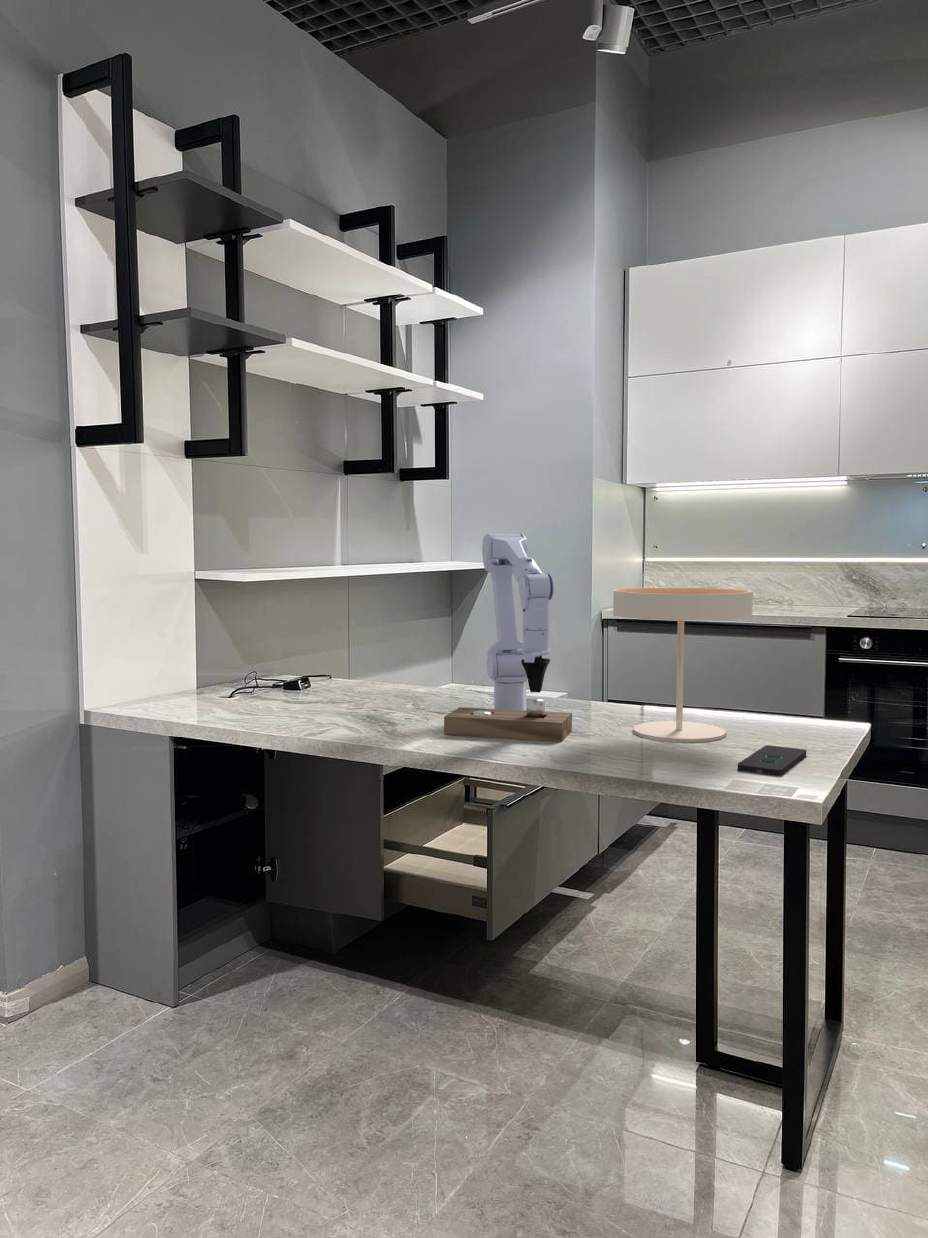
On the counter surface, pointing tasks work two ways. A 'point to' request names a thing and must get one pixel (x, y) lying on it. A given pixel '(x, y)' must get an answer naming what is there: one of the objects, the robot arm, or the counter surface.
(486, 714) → the peg
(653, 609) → the desk lamp
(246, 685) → the counter surface
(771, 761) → the smart home device
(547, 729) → the wooden peg board
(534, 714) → the peg
